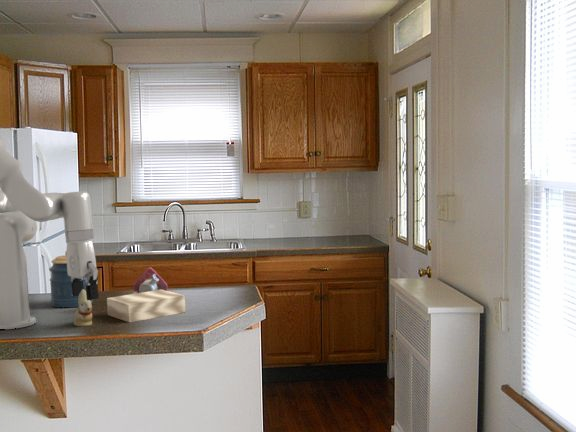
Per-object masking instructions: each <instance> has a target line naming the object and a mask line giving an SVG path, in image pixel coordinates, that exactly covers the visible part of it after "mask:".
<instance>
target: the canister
mask: <svg viewBox="0 0 576 432" xmlns="http://www.w3.org/2000/svg"><path fill="white" fill-rule="evenodd" d="M51 264H52V266H50V267H49V268H48V270H49V271H50V278H49V281H50V302H51V303H50V304H51V306H52V307H55V308H60V307H62V309H63V308H64V307H69V308H79V304H78V298H79V296H73V293H72V282H71V277H70V276H69V275H68V272H67V249H66V250H65V254H64V255H58V256H55V258H54V259H52V260H51ZM88 279H90V278H88ZM81 281H83V286H84V290H86V286H87V284H86V282H85V279H84V277H83V278H82V280H81ZM93 300H94V299H93ZM93 300H90V301H91V304H92V303H93V302H94V301H93ZM64 309H65V308H64Z"/></svg>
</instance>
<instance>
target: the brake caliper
mask: <svg viewBox="0 0 576 432" xmlns="http://www.w3.org/2000/svg"><path fill="white" fill-rule="evenodd" d="M158 284H159V285H158ZM132 288H133V291H134V292H133V293H132V294H136V293H142V292H149V291H155V290H165V291H168V283H167V282H166V281H165V280H164V279H163V278H162V277H161V276H160V275H159V274H158V273H157V271H156V270H155V269H153V267H152V266H151V267H150V266H148V268H147V269H145V271H144V272H142V274H141V275H140V276H139V277H138V279H136V281H135V282H134V283H133V287H132Z"/></svg>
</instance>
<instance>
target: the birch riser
mask: <svg viewBox="0 0 576 432" xmlns="http://www.w3.org/2000/svg"><path fill="white" fill-rule="evenodd" d="M106 304H107V315H108V316H110V317H112V318H115V319H118V320H121V321H124V322H126V323H134V322H135V323H136V322H139V321H144V320H145V321H146V320H150V319H151V320H152V319H156V318H162V317H167V316H172V315H177V314H182V313H186V296H185V294H182V293H181V294H180V293H177V292H172V291H168V290H167V291H165V290H155V291H149V292H142V293H136V294H133V293H131V294H124V295H118V296H112V297H111V296H110V297H107V298H106Z"/></svg>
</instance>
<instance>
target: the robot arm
mask: <svg viewBox="0 0 576 432" xmlns="http://www.w3.org/2000/svg"><path fill="white" fill-rule="evenodd" d="M6 148H7V147H6V143H5V141H4V140H3V139H2V138H1V137H0V329H5V330H14V329H15V328H16V329H21V328H26V327H29V326H32V325H35V324H34V323H37V318H36V317H35V316H31V315H30V314H31V313H30V298H29V297H30V296H29V295H30V293H29V281H28V280H29V279H28V268H27V267H28V266H27V265H28V264H27V257H26V253H25V252H26V251H25V249H24V244H25V243H26V242H29V241H31V240H32V239H33V238H34V237H35V235H36V234H37V232H38V231H37V230H38V225H37V222H39V223H44V222H47V221H49V222H50V221H53V220H59V219H63V225H64V235H65V243H66V250H67V272H68V275H69V276H70V277H71V282H72V293H73V296H79V294H80V292H81V290H82V289H84V286H83V281H81V280H82V278H83V277H84V279H85V282H86V284H87V286H86V296H87V300H97V299H99V298H100V295H99V287H98V283H99V282H98V279H99V277H98V274H99V270H98V269H97V259H96V254H95V248H94V244H93V241H95V234H94V226H93V224H94V223H93V215H92V213H93V212H92V205H91V202H92V201H91V196H90V194H89V192H88V191H83V190H82V191H81V190H80V191H70V192H64V193H63V192H62V193H61V192H45V193H42V192H41V191H40V190H38V189H37V188H36V187H34V186H33V185H32V184H31V183H30V182H29V181H28V180H27V179H26V178H25V177H24V175H23V171H22V170H23V165H22V163H21V162H20V161H19V160H18V159H17V158H15V157H14V156H13V155H11V153H9V152H8V151H7V149H6ZM88 278H90V279H88ZM16 329H15V330H16Z"/></svg>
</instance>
